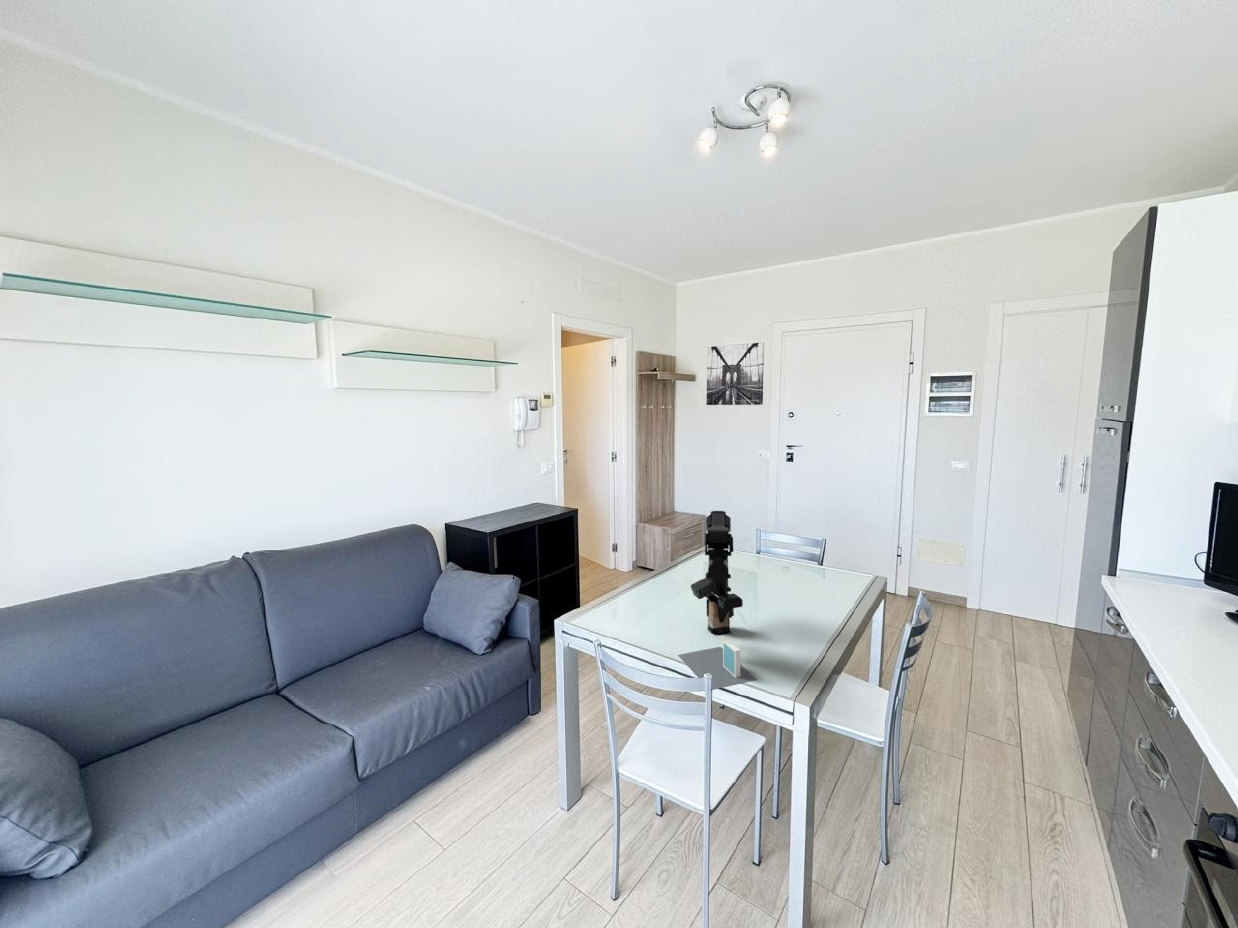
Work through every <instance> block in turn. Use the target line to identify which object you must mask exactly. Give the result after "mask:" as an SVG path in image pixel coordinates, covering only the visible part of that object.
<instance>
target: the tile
mask: <svg viewBox="0 0 1238 928" xmlns="http://www.w3.org/2000/svg"><path fill="white" fill-rule="evenodd" d="M722 648H723V666H724V667H725V668H726V669H727V670H728V671H729V672H730V673H731V674H732V675H733V676H734V677H735V678H737V677H740V664H741V649H740V648H738V647H737V645H735V644H734V643H732V642H731V641H730V640H729V639H723V640H722Z"/></svg>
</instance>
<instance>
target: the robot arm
mask: <svg viewBox="0 0 1238 928" xmlns="http://www.w3.org/2000/svg"><path fill="white" fill-rule="evenodd" d="M731 519H732V517H730V516H729V515H728V514H727V513H726V511H725V510H712V511H710V514H709V515H707V516H706V518H705V526H706V527H705V529H706V532H705V533H704V534H705V535H704V542H705V543H704V555H705V556H708V568H707V572H706V573H705V578H702V579H698V580H697V581H696V582H693V583H692V584H691V585H690V589H691V591H692V595H693V596H694V597H696V598H697V600H701V599H704V598H706V617H707V618H708V615H709V602H713V603H714V604H715V605H716V606H717V607H718V615H719V621H720V623H722V622H724V620H725V618H726V616H727V614H728V620H729V626H725V627H719V628H712V627H710V626H709V625H708V624H707V627H706V629H707V631H708V632H709V633H711V634H712V635H714V636H715V637H718V636H723V635H729V634H733V631H731V630H730V629H731V628H730V627H731V625H730V624H731V622H730V621H731V620H730V619H733V618H732V617H734V616H735V609H736V608H742V607H743V606H744V605H743V604H744V603H743V599H742V598H741V597H740V596H739V595H737V594H736V593H730V592H732V588H731V587H730V586H729V579H732V575H731V574H730V573H729V572H730V571H729V557H731V556H732V553H734V537H733V536H732V533H731V532H732V530H731V529H732V525H731V522H732V521H731ZM715 601H717V602H715Z"/></svg>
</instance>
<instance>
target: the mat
mask: <svg viewBox="0 0 1238 928" xmlns="http://www.w3.org/2000/svg"><path fill="white" fill-rule="evenodd" d="M677 656H678V657H679V659H681V660H682V662H683V663H684V664H685V665H686V666H687V667H688V669H690V671H692V673H693V674H694V675H695V676H696V677H697V678H698V679H699V678H703V677H704V674H706V673H710V674H711V675H712V690H711V691H713V690H718V689H722V688H727V687H731V686H735V685H741V684H744V683H750V682H753V681H758V678H756V677H755V676H754V675H753V674H752V673H751V672H750V671H749V670H748V669H746V667H744V666H743V665H742V664H741V663H740V677H737V678H735V677H734V676H733V675H732V674H731V673H730V672H729V671H728V670H727V669H726V668H725V667H724V666H723V647H722V646H717V647H712V648H706V649H701V650H696V651H691V652H686V653H682V654H677Z"/></svg>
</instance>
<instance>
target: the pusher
mask: <svg viewBox="0 0 1238 928" xmlns="http://www.w3.org/2000/svg"><path fill="white" fill-rule="evenodd" d="M715 602H717V601H715ZM708 625H709V626H710V627H712V628H719V627H725V626H729V620H728V614H727V616H726V618H725V620H724V622H722V623H720V621H719V615H718V607H717V606H716V605H715V604H714V603H713V602H709V615H708V617H707V626H708Z"/></svg>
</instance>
